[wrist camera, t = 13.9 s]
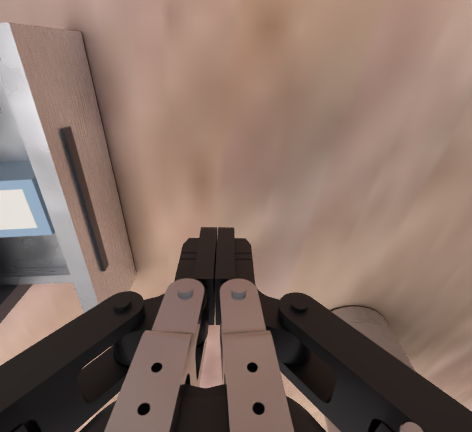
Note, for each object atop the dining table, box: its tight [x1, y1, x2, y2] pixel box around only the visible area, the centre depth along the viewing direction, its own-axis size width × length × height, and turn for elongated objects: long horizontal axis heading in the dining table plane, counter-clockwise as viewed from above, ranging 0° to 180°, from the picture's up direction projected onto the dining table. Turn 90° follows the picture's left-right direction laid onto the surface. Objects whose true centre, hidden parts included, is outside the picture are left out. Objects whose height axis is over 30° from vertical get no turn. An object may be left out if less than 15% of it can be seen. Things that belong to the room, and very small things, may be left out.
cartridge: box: [0, 161, 55, 238], centre depth 22 cm, size 4×5×4 cm
